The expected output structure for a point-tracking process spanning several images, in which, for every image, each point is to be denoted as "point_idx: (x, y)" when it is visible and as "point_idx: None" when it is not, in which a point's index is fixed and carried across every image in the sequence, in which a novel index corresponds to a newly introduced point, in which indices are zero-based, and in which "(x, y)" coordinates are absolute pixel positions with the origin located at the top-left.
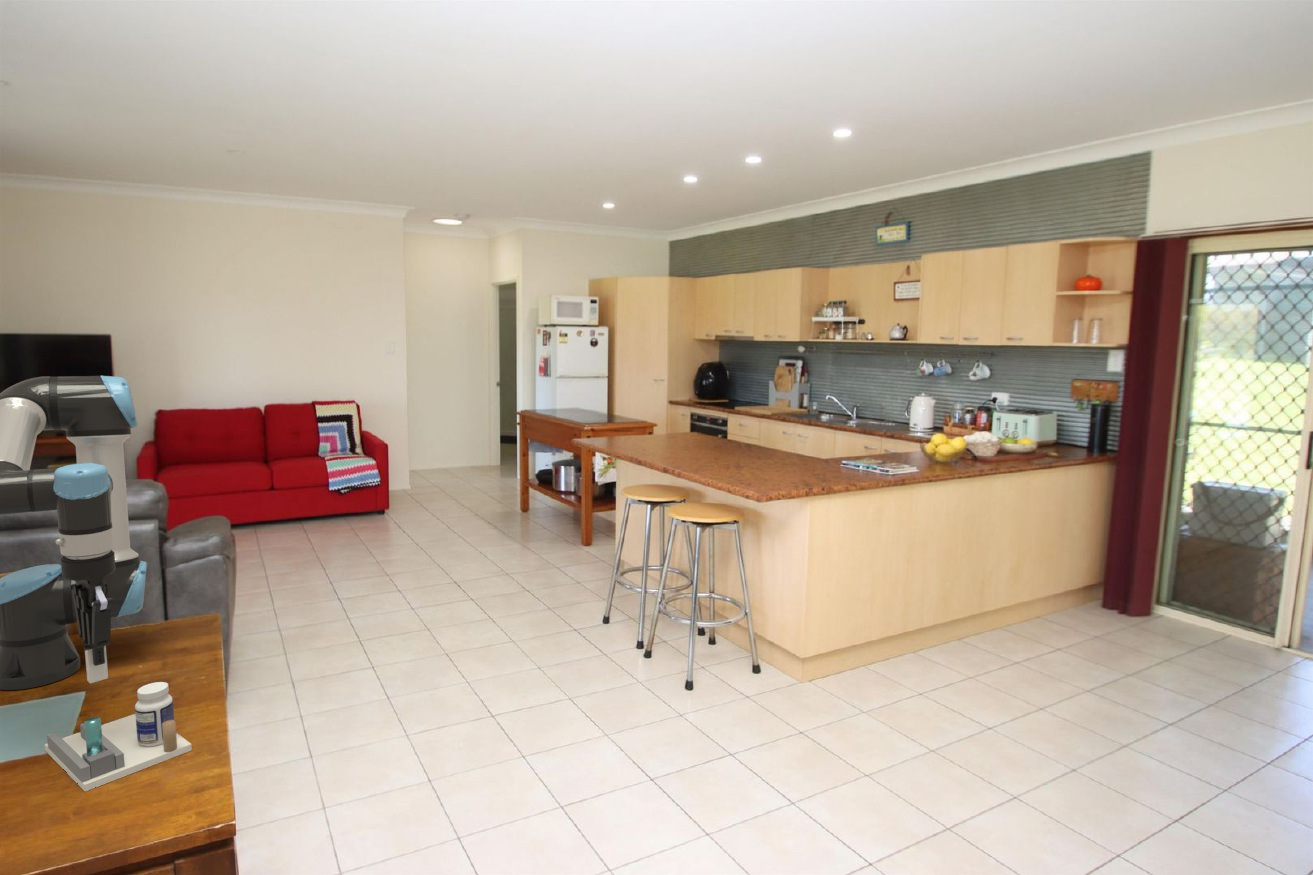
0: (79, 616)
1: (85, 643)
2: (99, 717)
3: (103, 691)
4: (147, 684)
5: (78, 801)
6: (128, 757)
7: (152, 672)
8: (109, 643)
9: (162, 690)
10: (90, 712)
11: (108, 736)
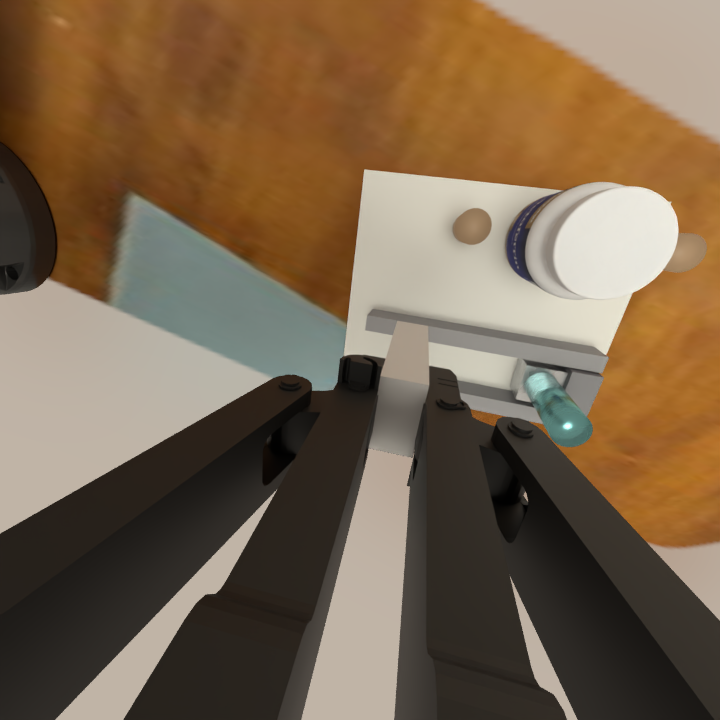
0: (213, 546)
1: (367, 454)
2: (573, 413)
3: (158, 169)
4: (559, 241)
5: (595, 431)
6: (563, 321)
7: (119, 19)
8: (537, 432)
9: (676, 235)
10: (247, 240)
11: (421, 293)
